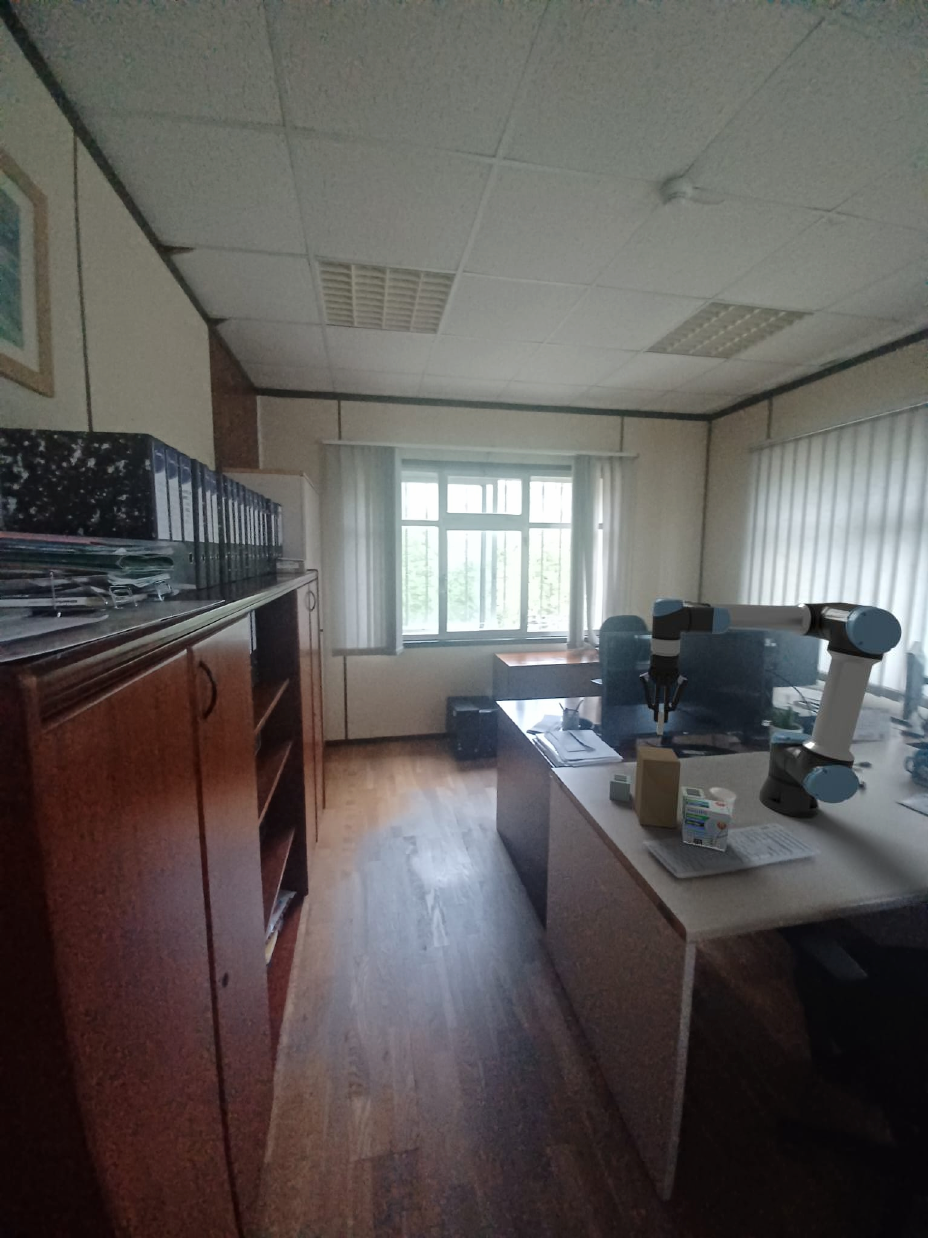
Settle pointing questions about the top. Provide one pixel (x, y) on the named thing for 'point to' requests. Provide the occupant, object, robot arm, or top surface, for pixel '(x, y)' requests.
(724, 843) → the light bulb box
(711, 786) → the top surface
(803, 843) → the top surface
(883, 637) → the robot arm
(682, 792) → the sage cube
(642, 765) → the wooden block
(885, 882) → the top surface
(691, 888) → the top surface
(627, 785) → the slate cube
